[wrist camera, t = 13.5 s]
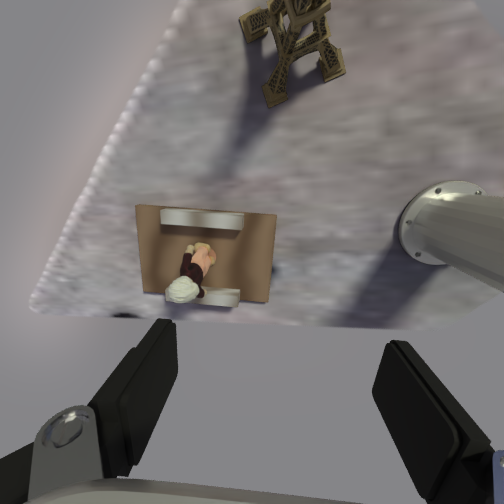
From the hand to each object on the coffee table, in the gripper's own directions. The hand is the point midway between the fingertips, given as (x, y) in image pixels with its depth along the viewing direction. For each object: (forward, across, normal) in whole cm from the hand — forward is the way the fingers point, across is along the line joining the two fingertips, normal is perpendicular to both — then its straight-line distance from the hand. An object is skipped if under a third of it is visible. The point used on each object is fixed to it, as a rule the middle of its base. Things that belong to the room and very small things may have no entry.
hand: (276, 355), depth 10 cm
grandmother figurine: (+27, +10, +6) cm, 30 cm away
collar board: (+28, +10, +6) cm, 31 cm away
